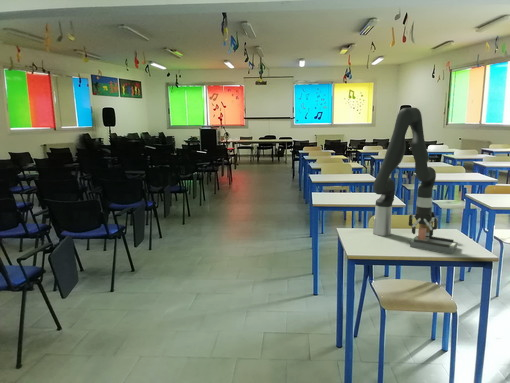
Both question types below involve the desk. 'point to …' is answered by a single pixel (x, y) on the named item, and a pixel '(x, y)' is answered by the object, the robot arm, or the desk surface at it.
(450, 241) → the switch box
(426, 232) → the coffee cup
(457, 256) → the desk surface
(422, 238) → the handle
